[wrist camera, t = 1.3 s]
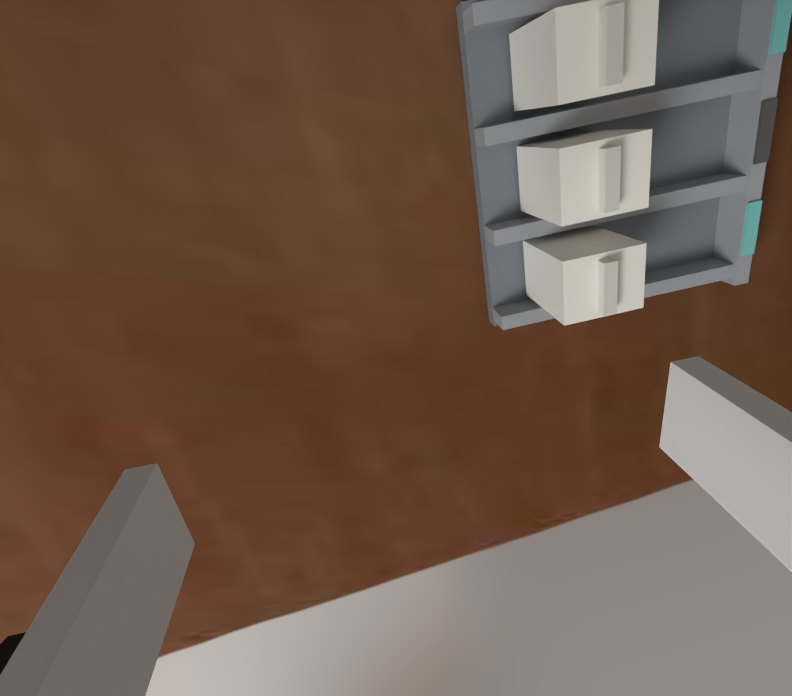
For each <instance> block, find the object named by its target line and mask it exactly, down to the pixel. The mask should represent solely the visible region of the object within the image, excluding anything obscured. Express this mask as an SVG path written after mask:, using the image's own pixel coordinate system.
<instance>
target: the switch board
mask: <svg viewBox="0 0 792 696" xmlns="http://www.w3.org/2000/svg"><path fill="white" fill-rule="evenodd" d="M586 1H591V0H468V1H463V2H460V3H459V5H458V6H457V7H456V14H457V23H458V33H459V42H460V51H461V61H462V70H463V80H464V89H465V98H466V108H467V117H468V126H469V136H470V145H471V155H472V164H473V173H474V183H475V192H476V201H477V211H478V220H479V230H480V239H481V248H482V258H483V267H484V276H485V286H486V295H487V305H488V314H489V321H490V322H491V323H492V324H493V325H494V326H496V325H499V327H500V328H501V329H502V330H505V329H510V328H514V327H518V326H523V325H527V324H532V323H536V322H540V321H545V320H549V319H554V317H553V316H552V315H551V314H549V313H548V312H547V311H546V310H545V309H543V308H542V307H541V306H540V305H538V304H537V303H536V302H535V301H533V300H532V299H531V298H530V297H528V296H527V295H526V281H525V266H524V251H523V240H527V239H531V238H536V237H540V236H545V235H550V234H554V233H559V232H563V231H568V230H572V229H577V228H581V227H586V226H590V225H594V226H597V227H600V228H603V229H606V230H609V231H612V232H615V233H618V234H621V235H624V236H627V237H630V238H633V239H636V240H639V241H642V242H645V243H647V246H646V265H645V285H644V298H646V297H650V296H655V295H659V294H663V293H668V292H672V291H677V290H681V289H685V288H690V287H694V286H699V285H703V284H707V283H712V282H716V281H724V282H726V283H729V284H732V285H734V286H735V285H740V284H744V283H748V279H749V273H750V266H751V260H752V254H754V252H755V246H756V239H757V233H758V226H759V220H760V214H761V207H762V201H763V200H761V195H762V188H763V182H764V175H765V169H766V162H768V161H769V156H770V149H771V143H772V136H773V130H774V123H775V117H776V110H777V104H778V98H776V97H777V90H778V84H779V77H780V71H781V64H782V58H783V52H786V46H787V40H788V33H789V27H790V20H791V14H792V0H659V11H658V31H657V50H656V70H655V85H652V86H648V87H643V88H638V89H633V90H629V91H624V92H619V93H614V94H610V95H605V96H600V97H595V98H590V99H586V100H581V101H576V102H571V103H567V104H562V105H557V106H549V107H542V108H535V109H528V110H520V111H514V101H513V86H512V71H511V56H510V41H509V34H510V33H512V32H514V31H515V30H517V29H519V28H521V27H522V26H524V25H526V24H528V23H529V22H531V21H533V20H535V19H536V18H538V17H540V16H542V15H543V14H545V13H547V12H549V11H550V10H552V9H554V8H556V7H561V6H566V5H571V4H576V3H581V2H586ZM626 129H652V148H651V168H650V187H649V207H648V208H644V209H640V210H635V211H631V212H626V213H622V214H617V215H612V216H608V217H603V218H599V219H594V220H590V221H585V222H581V223H576V224H572V225H567V226H562V227H561V226H558V225H556V224H553V223H551V222H548V221H546V220H543V219H540V218H538V217H535V216H533V215H530V214H528V213H525V212H522V211H521V206H520V191H519V176H518V161H517V146H521V145H526V144H531V143H535V142H540V141H545V140H549V139H554V138H559V137H564V136H568V135H573V134H578V133H582V132H587V131H592V130H626Z"/></svg>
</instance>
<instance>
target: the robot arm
mask: <svg viewBox="0 0 792 696" xmlns="http://www.w3.org/2000/svg"><path fill="white" fill-rule="evenodd" d="M659 447H660V448H661V449H662V450H663V451H664V452H665V453H666V454H667V455H668V456H669V457H670V458H672V459H673V460H674V461H675V462H676V463H677V464H678V465H679V466H680V467H681V468H682V469H683V470H684V471H685V472H686V473H687V474H688V475H690V476H691V477H692V478H693V479H694V480H695V481H696V482H697V483H698V484H699V485H700V486H701V487H702V488H703V489H704V490H705V491H706V492H708V493H709V494H710V495H711V496H712V497H713V498H714V499H715V500H716V501H717V502H718V503H720V505H721V506H722V507H723V508H724V509H725V510H727V511H728V512H729V513H730V514H731V515H732V516H733V517H734V518H735V519H736V520H737V521H738V522H739V523H740V524H741V525H743V527H745V528H746V529H747V530H748V531H749V532H750V533H751V534H752V535H753V536H754V537H755V538H756V539H757V540H758V541H759V542H761V544H763V545H764V546H765V547H766V548H767V549H768V550H769V551H770V552H771V553H772V554H773V555H774V556H775V557H776V558H777V559H779V561H781V562H782V563H783V564H784V565H785V566H786V567H787V568H788V569H789V570H790V571H791V572H792V412H790V411H789V410H787V409H785V408H784V407H782V406H780V405H779V404H777V403H775V402H774V401H772V400H770V399H769V398H767V397H765V396H764V395H762V394H760V393H759V392H757V391H755V390H754V389H752V388H750V387H749V386H747V385H745V384H744V383H742V382H740V381H739V380H737V379H735V378H734V377H732V376H730V375H729V374H727V373H725V372H724V371H722V370H720V369H719V368H717V367H715V366H714V365H712V364H710V363H709V362H707V361H705V360H704V359H702V358H700V357H699V356H698V357H693V358H688V359H683V360H678V361H673V362H671V363H670V370H669V378H668V386H667V393H666V401H665V408H664V416H663V423H662V431H661V438H660V446H659ZM194 545H195V543H194V541H193V539H192V537H191V535H190V533H189V530H188V528H187V526H186V524H185V522H184V520H183V518H182V516H181V513H180V511H179V509H178V507H177V505H176V503H175V501H174V498H173V496H172V494H171V492H170V490H169V488H168V486H167V484H166V481H165V479H164V477H163V475H162V473H161V471H160V469H159V467H158V464H157V463H156V464H151V465H146V466H141V467H136V468H131V469H126V470H124V472H123V473H122V475H121V477H120V478H119V480H118V482H117V483H116V485H115V487H114V488H113V490H112V492H111V493H110V495H109V497H108V498H107V500H106V502H105V503H104V505H103V506H102V508H101V510H100V511H99V513H98V515H97V516H96V518H95V520H94V521H93V523H92V525H91V526H90V528H89V530H88V531H87V533H86V534H85V536H84V538H83V539H82V541H81V543H80V544H79V546H78V548H77V549H76V551H75V553H74V554H73V556H72V558H71V559H70V561H69V562H68V564H67V566H66V567H65V569H64V571H63V572H62V574H61V576H60V577H59V579H58V581H57V582H56V584H55V586H54V587H53V589H52V590H51V592H50V594H49V595H48V597H47V599H46V600H45V602H44V604H43V605H42V607H41V609H40V610H39V612H38V614H37V615H36V617H35V619H34V620H33V622H32V623H31V625H30V627H29V628H28V630H27V632H26V633H21V634H16V635H12V636H8V637H7V638H6V639H5V640H4V641H3V642H2V643H1V644H0V696H145V695H146V692H147V688H148V686H149V682H150V679H151V676H152V673H153V670H154V667H155V664H156V661H157V658H158V655H159V652H160V649H161V646H162V643H163V640H164V636H165V633H166V630H167V627H168V624H169V621H170V618H171V615H172V612H173V609H174V606H175V603H176V600H177V597H178V594H179V591H180V587H181V584H182V581H183V578H184V575H185V572H186V569H187V566H188V563H189V560H190V557H191V554H192V551H193V548H194Z"/></svg>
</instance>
